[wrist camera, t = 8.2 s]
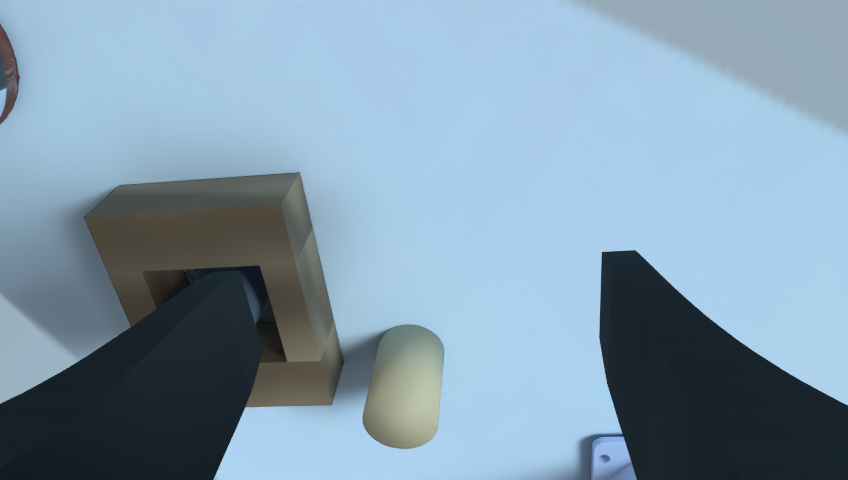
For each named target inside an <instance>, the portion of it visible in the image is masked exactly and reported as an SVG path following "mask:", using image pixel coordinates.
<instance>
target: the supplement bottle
mask: <svg viewBox="0 0 848 480" xmlns="http://www.w3.org/2000/svg"><path fill="white" fill-rule="evenodd" d="M19 78H20V76H19V74H18V68H17V61H16V58H15V55H14V51H13V49H12V46H11V43H10V41H9V39H8V36H7V34H6V32H5V31H4V29H3V28H2V26H1V24H0V124H1V123H2V122H3V121H4V120H5V119H6V118H7V116H8V114H9V113H10V112H11V110H12V108H13V106H14V104H15V101H16V98H17V94H18V84H19Z"/></svg>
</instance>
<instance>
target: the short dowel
mask: <svg viewBox="0 0 848 480" xmlns="http://www.w3.org/2000/svg"><path fill="white" fill-rule="evenodd" d="M443 362H444V347H443V344H442V342H441V340H440V339H439V338H438V336H437V335H436V334H434V333H433V332H432V331H430V330H429V329H426V328H424V327H421V326H417V325H400V326H396V327H394V328H391V329H390V330H388V331H387V332H386V333H384V335H383V336H382V337H381V339H380V341H379V345H378V349H377V354H376V358H375V363H374V367H373V372H372V376H371V381H370V385H369V390H368V394H367V399H366V403H365V408H364V412H363V425H364V427H365V429H366V431H367V432H368V434H369V435H370V436H371V437H372V438H374V439H375V440H376V441H378V442H380V443H381V444H384V445H386V446H389V447H393V448H399V449H409V448H415V447H419V446H422V445H424V444H426V443H427V442H429V441H430V440H431V439H432V438H433V437H434V436H435V434H436V432H437V429H438V421H439V409H440V397H441V385H442V374H443Z"/></svg>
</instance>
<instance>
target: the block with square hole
mask: <svg viewBox="0 0 848 480" xmlns="http://www.w3.org/2000/svg"><path fill="white" fill-rule="evenodd" d="M84 219H85V221H86V223H87V226H88V228H89V230H90V233H91V235H92V237H93V240H94V242H95V244H96V247H97V249H98V251H99V253H100V256H101V258H102V260H103V263H104V265H105V267H106V270H107V272H108V274H109V277H110V279H111V281H112V284H113V286H114V288H115V291H116V293H117V295H118V297H119V300H120V302H121V304H122V307H123V309H124V311H125V314H126V316H127V318H128V321H129V323H130V325H131V327H132V326H133V325H135V324H136V323H138V322H139V321H140V320H142V319H143V318H145V317H146V316H147V315H149V314H150V313H152V312H153V311H154V310H156V309H157V308H159V307H160V306H161V305H163V304H164V303H166V302H167V301H168V300H170V299H171V298H173V297H174V296H175V295H177V294H178V293H180V292H181V291H182V290H184V289H185V288H187V287H188V286H189V284H188V281H187V278H186V276H185V273H184V270H183V269H200V268H219V267H238V266H257V265H260V268H261V272H262V275H263V278H264V282H265V285H266V289H267V292H268V296H269V299H270V303H271V306H272V310H273V313H274V317H275V320H276V323H256V328H257V331H258V334H259V337H260V340H261V344H262V347H263V352H262V356H261V359H260V363H259V367H258V371H257V375H256V378H255V382H254V385H253V389H252V392H251V394H250V397H249V399H248V402H247V404H246V406H245V407H271V406H315V405H332V402H333V399H334V395H335V392H336V388H337V385H338V381H339V378H340V374H341V371H342V367H343V364H344V362H343V357H342V353H341V349H340V344H339V340H338V336H337V331H336V327H335V323H334V318H333V314H332V310H331V305H330V301H329V297H328V292H327V288H326V284H325V279H324V275H323V271H322V266H321V262H320V258H319V253H318V249H317V245H316V240H315V236H314V232H313V227H312V223H311V219H310V214H309V210H308V206H307V201H306V197H305V193H304V188H303V184H302V180H301V175H300V173H286V174H272V175H258V176H244V177H230V178H216V179H202V180H188V181H174V182H160V183H146V184H132V185H120V186H119V187H117V188H116V189H115V190H114V191H113V192H112V193H111V194H109V195H108V196H107V197H106V198H105V199H104V200H103V201H102V202H100V203H99V204H98V205H97V206H96V207H95V208H94V209H93V210H91V211H90V212H89V213H88V214H87V215H86V216H85V217H84Z"/></svg>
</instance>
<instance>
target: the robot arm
mask: <svg viewBox="0 0 848 480" xmlns="http://www.w3.org/2000/svg"><path fill="white" fill-rule="evenodd" d="M599 338H600V344H601V350H602V356H603V362H604V368H605V374H606V379H607V384H608V387H609V391H610V394H611V398H612V401H613V404H614V407H615V411H616V414H617V417H618V421H619V424H620V427H621V430H622V434H623V437H599V438H597V439H595V440H594V441H593V443H592V461H591V480H848V406H847V405H845V404H843V403H841V402H839V401H838V400H836V399H834V398H832V397H830V396H828V395H826V394H825V393H823V392H821V391H819V390H817V389H815V388H813V387H811V386H810V385H808V384H806V383H804V382H802V381H801V380H799V379H797V378H795V377H794V376H792V375H790V374H789V373H787V372H785V371H783V370H782V369H780V368H779V367H777V366H776V365H774V364H773V363H771V362H769V361H768V360H766V359H765V358H763V357H762V356H760V355H759V354H757V353H755V352H754V351H752V350H751V349H749V348H748V347H747V346H745V345H744V344H742V343H741V342H739V341H738V340H737V339H735V338H734V337H733V336H731V335H730V334H729V333H727V332H726V331H725V330H724V329H722V328H721V327H720V326H718V325H717V324H716V323H714V322H713V321H712V320H711V319H709V318H708V317H707V316H706V315H704V314H703V313H702V312H701V311H700V310H699V309H698V308H696V307H695V306H694V305H693V304H692V303H691V302H690V301H688V300H687V299H686V298H685V297H684V296H683V295H682V294H681V293H679V292H678V291H677V290H676V289H675V288H674V287H673V286H672V285H671V284H670V283H669V282H668V281H667V280H666V279H665V278H664V277H663V276H661V275H660V274H659V273H658V272H657V271H656V270H655V269H654V268H653V267H652V266H651V265H650V264H649V263H648V262H647V261H646V260H645V259H644V258H643V257H642V256H641V255H640V254H639V253H638V252H637V251H635V250H634V251H614V252H602V268H601V301H600V335H599ZM262 352H263V347H262V344H261V340H260V337H259V334H258V331H257V328H256V324H255V321H254V318H253V315H252V311H251V308H250V305H249V302H248V298H247V295H246V292H245V289H244V285H243V282H242V279H241V276H240V272H239V271H226V272H210V273H209V274H207V275H205V276H203V277H202V278H200V279H199V280H197V281H196V282H194V283H193V284H191V285H190V286H188V287H187V288H185V289H184V290H182V291H181V292H180V293H178V294H177V295H175V296H174V297H173V298H171V299H170V300H168V301H167V302H166V303H164V304H163V305H161V306H160V307H159V308H157V309H156V310H154V311H153V312H152V313H150V314H149V315H147V316H146V317H145V318H143V319H142V320H140V321H139V322H138V323H136V324H135V325H133V326H132V327H130V328H129V329H128V330H126V331H124V332H123V333H121V334H120V335H118V336H117V337H115V338H114V339H112V340H111V341H109V342H108V343H106V344H105V345H103V346H102V347H100V348H99V349H97V350H96V351H94V352H93V353H91V354H90V355H88V356H87V357H85V358H84V359H82V360H80V361H79V362H77V363H75V364H74V365H72V366H70V367H69V368H67V369H65V370H64V371H62V372H60V373H58V374H57V375H55V376H53V377H51V378H49V379H48V380H46V381H44V382H42V383H41V384H39V385H37V386H35V387H33V388H31V389H30V390H28V391H26V392H24V393H22V394H20V395H18V396H16V397H14V398H11V399H9V400H7V401H5V402H3V403H1V404H0V480H213V479H214V477H215V475H216V472H217V470H218V468H219V466H220V463H221V461H222V459H223V457H224V454H225V452H226V450H227V447H228V445H229V443H230V441H231V438H232V436H233V434H234V432H235V429H236V427H237V425H238V423H239V420H240V418H241V416H242V413H243V411H244V409H245V406H246V404H247V402H248V399H249V397H250V394H251V392H252V389H253V385H254V382H255V378H256V375H257V371H258V367H259V363H260V359H261V356H262ZM601 455H605V456H601Z"/></svg>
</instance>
